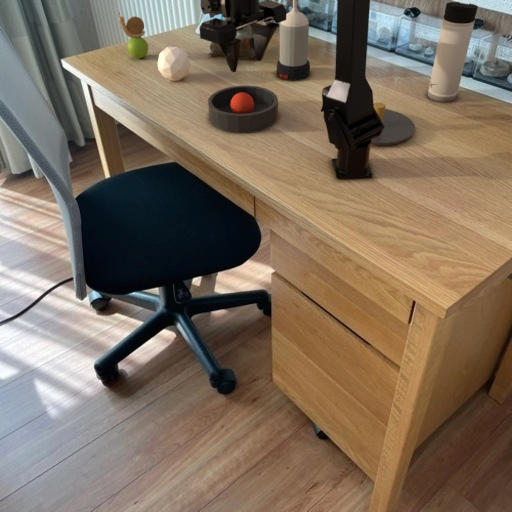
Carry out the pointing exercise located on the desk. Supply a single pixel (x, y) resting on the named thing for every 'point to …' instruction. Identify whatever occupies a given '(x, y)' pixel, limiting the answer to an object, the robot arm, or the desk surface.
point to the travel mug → (451, 51)
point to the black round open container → (243, 123)
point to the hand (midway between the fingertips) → (246, 66)
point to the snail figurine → (135, 36)
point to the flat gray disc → (393, 126)
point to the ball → (242, 103)
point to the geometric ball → (173, 63)
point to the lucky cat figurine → (246, 43)
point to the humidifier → (294, 46)
